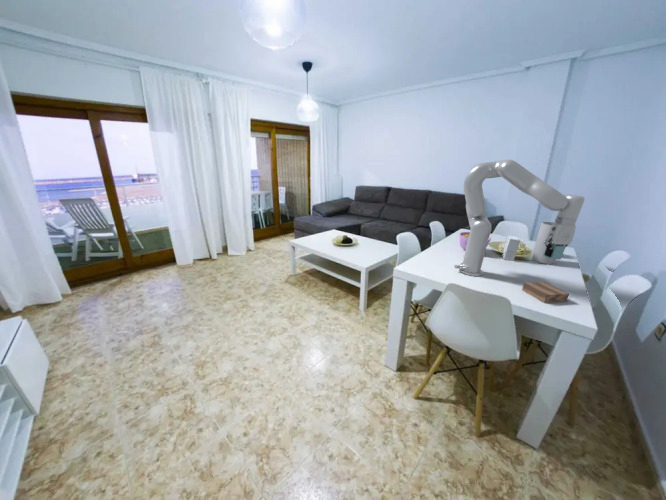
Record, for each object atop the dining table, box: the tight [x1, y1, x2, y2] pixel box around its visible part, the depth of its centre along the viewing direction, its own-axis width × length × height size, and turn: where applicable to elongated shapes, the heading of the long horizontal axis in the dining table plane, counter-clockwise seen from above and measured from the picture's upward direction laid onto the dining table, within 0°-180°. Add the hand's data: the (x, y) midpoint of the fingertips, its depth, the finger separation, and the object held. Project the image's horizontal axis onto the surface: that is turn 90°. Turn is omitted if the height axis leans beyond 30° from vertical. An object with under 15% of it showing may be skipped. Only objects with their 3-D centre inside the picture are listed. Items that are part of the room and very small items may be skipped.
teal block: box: [543, 244, 567, 260], centre depth 127 cm, size 5×5×7 cm
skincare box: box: [501, 235, 521, 262], centre depth 166 cm, size 8×6×15 cm
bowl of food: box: [459, 231, 492, 251], centre depth 179 cm, size 20×20×12 cm
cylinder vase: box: [530, 221, 557, 265], centre depth 161 cm, size 12×12×25 cm
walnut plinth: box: [521, 281, 570, 304], centre depth 121 cm, size 12×12×4 cm
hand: (552, 255), depth 128 cm, fingers closed on teal block, 5 cm apart
